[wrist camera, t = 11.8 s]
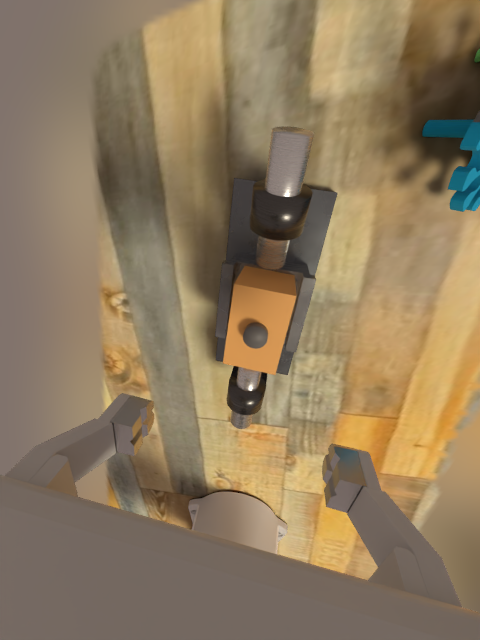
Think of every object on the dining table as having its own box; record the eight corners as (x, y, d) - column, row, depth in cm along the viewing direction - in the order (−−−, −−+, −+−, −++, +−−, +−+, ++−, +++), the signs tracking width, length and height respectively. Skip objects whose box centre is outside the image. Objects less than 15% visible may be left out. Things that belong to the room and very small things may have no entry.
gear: (479, 231, 21) (462, 182, 14) (407, 214, 25) (365, 169, 18) (593, 68, 17) (645, -110, 10) (486, 78, 21) (472, -45, 14)
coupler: (244, 265, 22) (231, 287, 17) (294, 275, 22) (297, 300, 17) (234, 333, 26) (220, 369, 20) (277, 342, 25) (274, 381, 20)
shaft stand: (283, 385, 33) (282, 463, 24) (216, 370, 34) (188, 440, 24) (345, 157, 21) (391, 129, 12) (240, 143, 22) (204, 106, 13)
